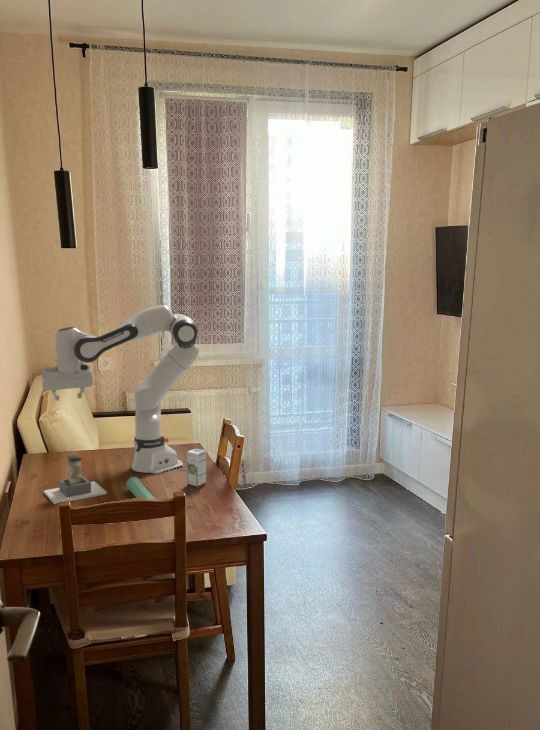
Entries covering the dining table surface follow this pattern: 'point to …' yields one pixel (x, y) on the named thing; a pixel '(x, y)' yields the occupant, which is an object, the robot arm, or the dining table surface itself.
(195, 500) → the dining table surface
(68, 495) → the collar stand
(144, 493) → the container
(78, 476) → the spice jar
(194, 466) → the syrup box
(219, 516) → the dining table surface
